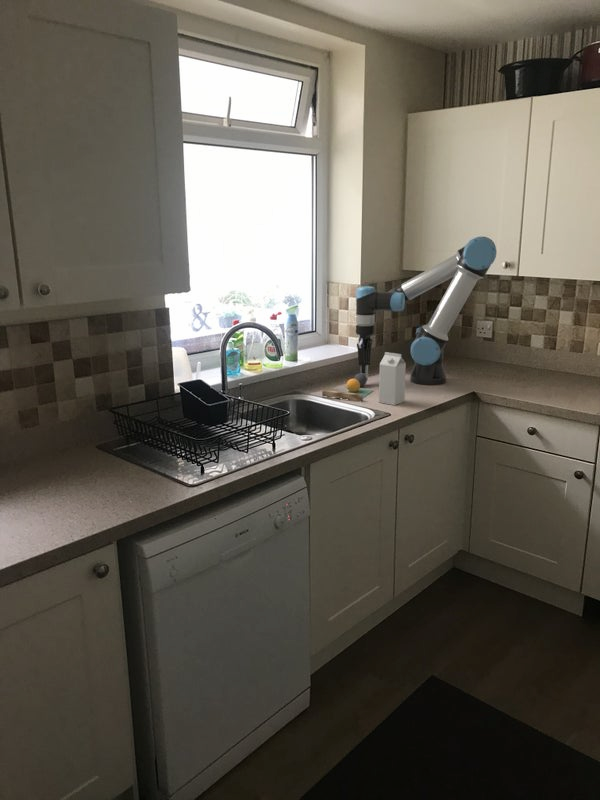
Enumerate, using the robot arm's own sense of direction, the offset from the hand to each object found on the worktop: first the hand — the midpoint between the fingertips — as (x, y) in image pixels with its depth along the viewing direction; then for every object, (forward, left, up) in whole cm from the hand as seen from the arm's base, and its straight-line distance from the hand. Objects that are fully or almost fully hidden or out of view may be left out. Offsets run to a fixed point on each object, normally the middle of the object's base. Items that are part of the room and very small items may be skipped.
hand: (364, 380), depth 276 cm
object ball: (0, +13, +1) cm, 14 cm away
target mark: (0, +15, -2) cm, 16 cm away
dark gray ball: (0, +4, +1) cm, 4 cm away
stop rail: (0, +25, -2) cm, 25 cm away
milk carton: (-19, +22, -2) cm, 29 cm away
